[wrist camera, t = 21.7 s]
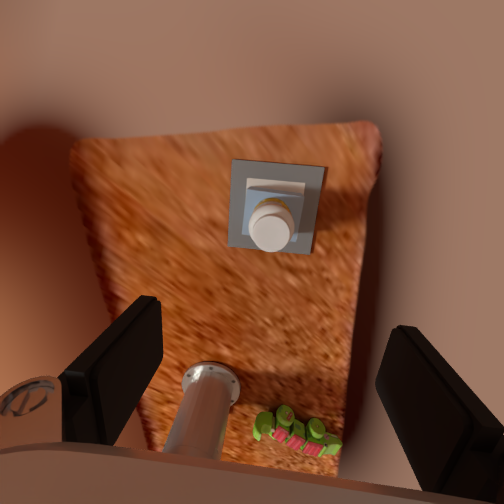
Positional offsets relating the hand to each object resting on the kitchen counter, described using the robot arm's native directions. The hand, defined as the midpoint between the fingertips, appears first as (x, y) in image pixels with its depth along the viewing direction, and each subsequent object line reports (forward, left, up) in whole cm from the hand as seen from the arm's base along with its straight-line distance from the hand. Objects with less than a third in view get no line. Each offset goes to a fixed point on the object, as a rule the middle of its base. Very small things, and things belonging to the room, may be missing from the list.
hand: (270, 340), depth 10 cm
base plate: (0, 0, -32) cm, 32 cm away
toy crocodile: (-47, -10, -33) cm, 58 cm away
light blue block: (0, 0, -32) cm, 32 cm away
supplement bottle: (0, 0, -27) cm, 27 cm away
